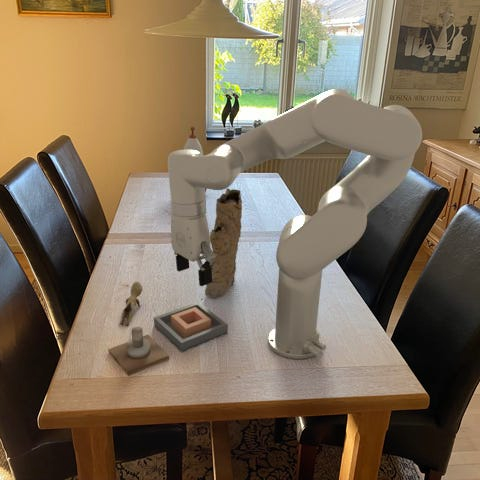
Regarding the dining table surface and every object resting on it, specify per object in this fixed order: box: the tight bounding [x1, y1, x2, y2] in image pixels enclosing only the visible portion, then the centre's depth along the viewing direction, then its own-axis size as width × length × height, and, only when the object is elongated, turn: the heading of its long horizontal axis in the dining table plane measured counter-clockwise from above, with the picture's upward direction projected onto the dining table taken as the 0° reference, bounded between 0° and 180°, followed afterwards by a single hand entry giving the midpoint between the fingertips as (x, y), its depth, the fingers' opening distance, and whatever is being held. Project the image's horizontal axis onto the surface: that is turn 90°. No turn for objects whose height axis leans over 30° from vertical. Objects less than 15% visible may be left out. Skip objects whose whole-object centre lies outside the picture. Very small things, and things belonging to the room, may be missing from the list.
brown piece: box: [108, 326, 170, 377], centre depth 110 cm, size 10×10×7 cm
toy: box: [183, 126, 208, 193], centre depth 211 cm, size 11×11×30 cm
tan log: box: [204, 187, 243, 299], centre depth 132 cm, size 14×10×30 cm
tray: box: [153, 301, 229, 353], centre depth 121 cm, size 13×13×3 cm
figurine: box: [119, 281, 143, 327], centre depth 128 cm, size 4×4×15 cm
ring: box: [171, 307, 211, 338], centre depth 120 cm, size 7×7×3 cm
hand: (194, 276), depth 115 cm, fingers open, 9 cm apart
